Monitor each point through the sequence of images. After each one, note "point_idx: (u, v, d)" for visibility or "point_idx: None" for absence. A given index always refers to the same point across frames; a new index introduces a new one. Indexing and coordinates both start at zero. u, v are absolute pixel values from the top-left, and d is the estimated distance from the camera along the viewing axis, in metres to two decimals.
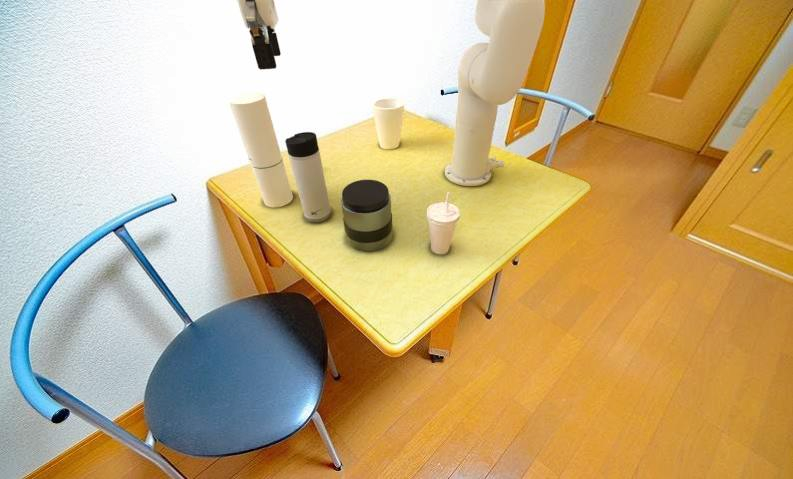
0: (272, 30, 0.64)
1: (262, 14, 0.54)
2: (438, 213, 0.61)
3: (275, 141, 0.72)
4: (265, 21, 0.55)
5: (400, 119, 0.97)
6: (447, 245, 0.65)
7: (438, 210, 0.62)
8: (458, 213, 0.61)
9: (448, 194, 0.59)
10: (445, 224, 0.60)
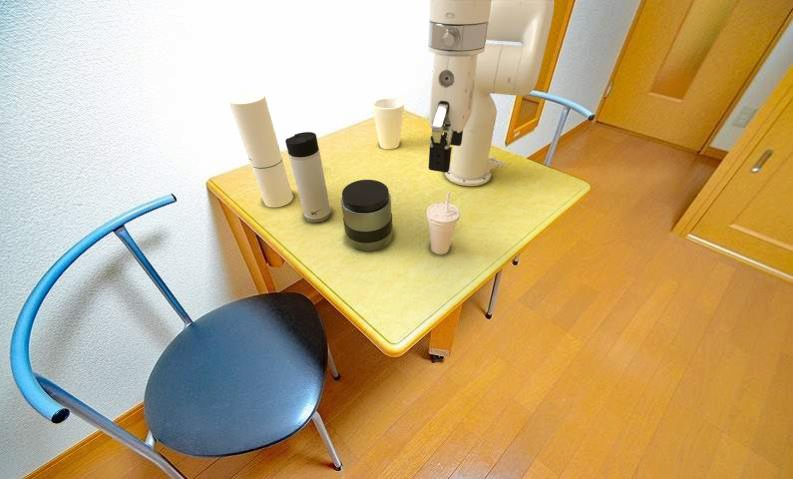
0: None
1: (452, 119, 0.45)
2: (438, 213, 0.61)
3: (275, 141, 0.72)
4: (453, 126, 0.45)
5: (400, 119, 0.97)
6: (447, 245, 0.65)
7: (438, 210, 0.62)
8: (458, 213, 0.61)
9: (448, 194, 0.59)
10: (445, 224, 0.60)
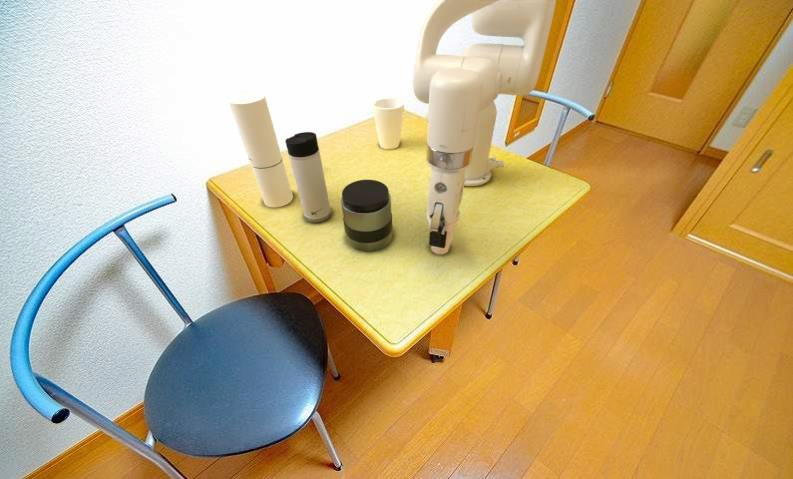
0: None
1: None
2: None
3: (275, 141, 0.72)
4: (447, 221, 0.57)
5: (400, 119, 0.97)
6: (447, 245, 0.65)
7: None
8: (458, 213, 0.61)
9: None
10: None
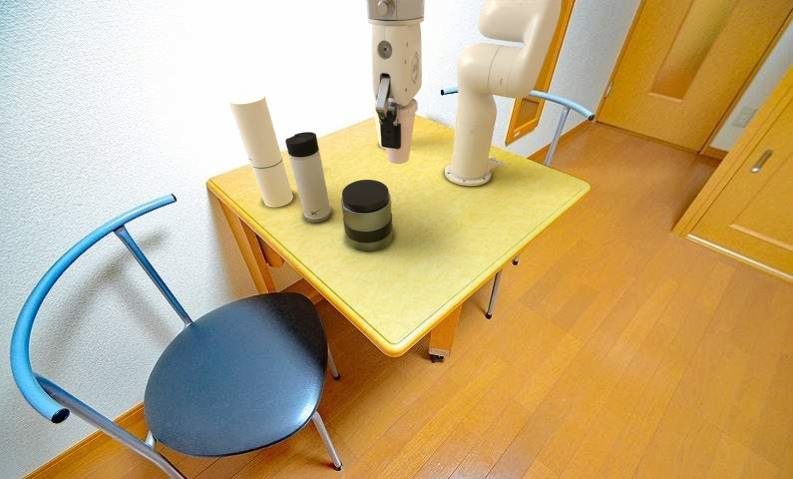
0: None
1: None
2: None
3: (275, 141, 0.72)
4: (398, 104, 0.46)
5: None
6: (405, 150, 0.54)
7: (391, 101, 0.51)
8: (415, 103, 0.50)
9: None
10: None
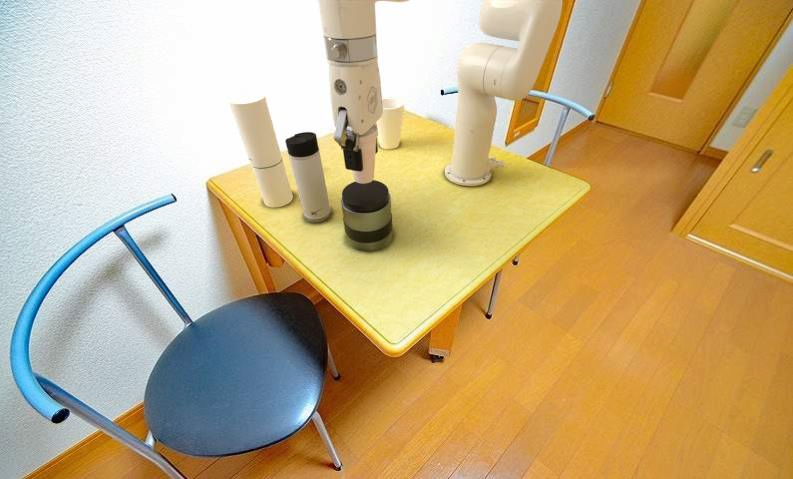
0: None
1: None
2: None
3: (275, 141, 0.72)
4: (356, 133, 0.51)
5: (400, 119, 0.97)
6: (368, 171, 0.59)
7: None
8: (375, 130, 0.55)
9: None
10: None
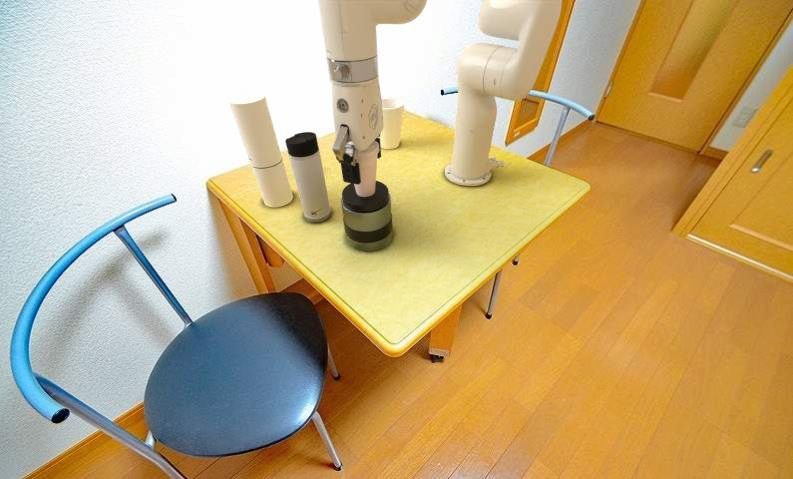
0: None
1: (354, 139, 0.51)
2: None
3: (275, 141, 0.72)
4: (355, 145, 0.52)
5: (400, 119, 0.97)
6: (370, 185, 0.61)
7: None
8: (376, 147, 0.57)
9: None
10: (360, 157, 0.56)
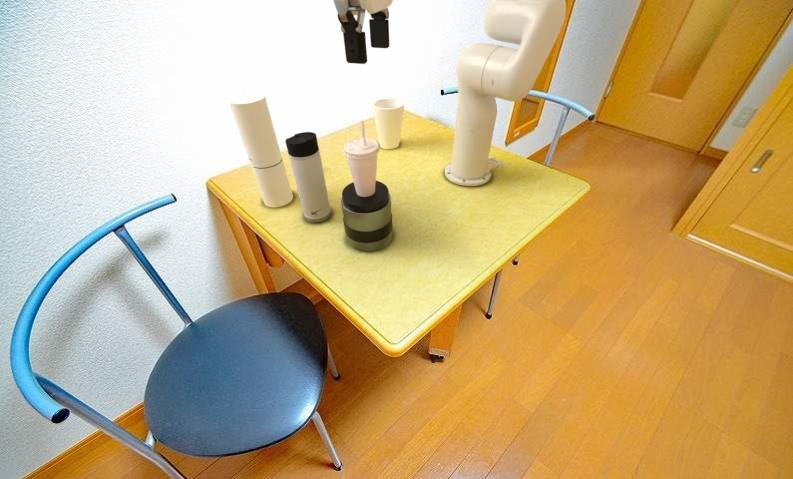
0: (384, 16, 0.52)
1: None
2: (355, 147, 0.57)
3: (275, 141, 0.72)
4: (361, 3, 0.43)
5: (400, 119, 0.97)
6: (370, 185, 0.61)
7: (355, 144, 0.57)
8: (376, 147, 0.57)
9: (362, 123, 0.54)
10: (360, 157, 0.56)
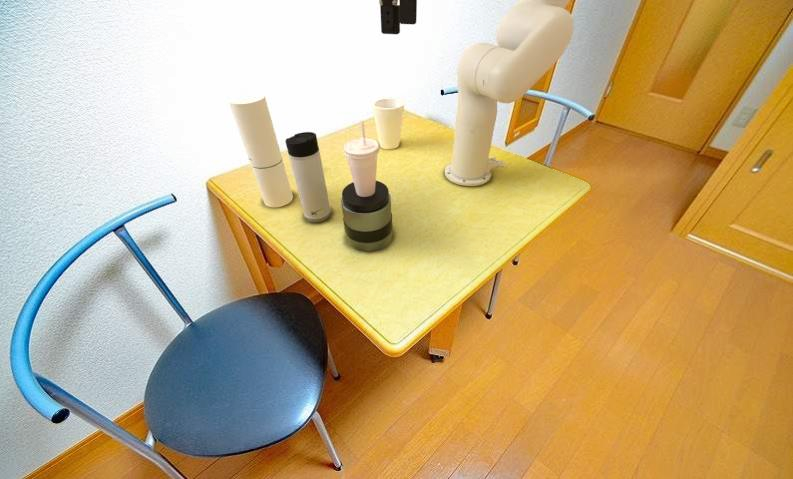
0: None
1: None
2: (355, 147, 0.57)
3: (275, 141, 0.72)
4: None
5: (400, 119, 0.97)
6: (370, 185, 0.61)
7: (355, 144, 0.57)
8: (376, 147, 0.57)
9: (362, 123, 0.54)
10: (360, 157, 0.56)
